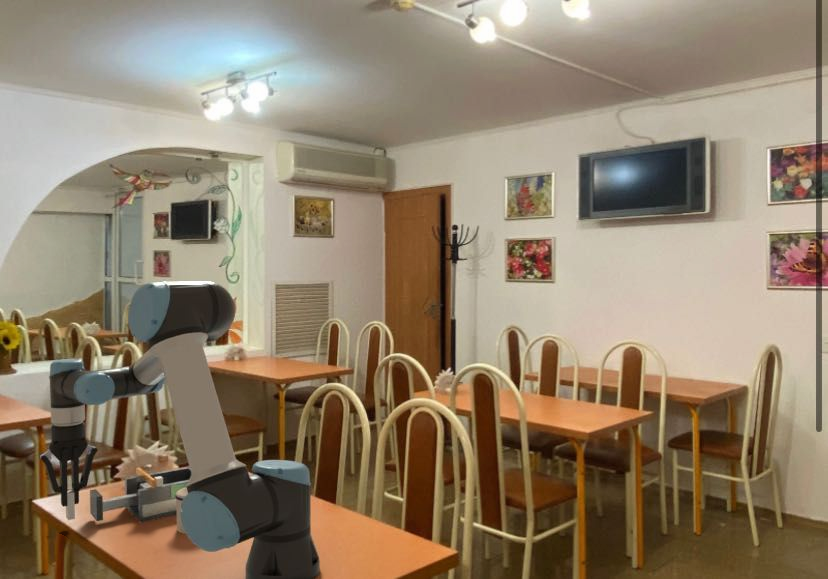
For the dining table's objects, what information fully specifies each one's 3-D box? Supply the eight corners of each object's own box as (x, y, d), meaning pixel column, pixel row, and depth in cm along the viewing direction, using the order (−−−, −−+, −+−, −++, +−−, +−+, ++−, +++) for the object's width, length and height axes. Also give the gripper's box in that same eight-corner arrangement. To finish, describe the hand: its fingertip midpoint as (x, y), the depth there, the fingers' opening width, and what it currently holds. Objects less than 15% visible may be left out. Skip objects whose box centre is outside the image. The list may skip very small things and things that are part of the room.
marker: (163, 485, 176) (163, 477, 176) (156, 486, 175) (156, 479, 175) (160, 483, 177) (160, 476, 177) (154, 485, 176) (154, 477, 176)
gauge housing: (210, 507, 183) (210, 477, 183) (140, 522, 172) (140, 491, 172) (192, 494, 195) (191, 466, 195) (125, 507, 184) (124, 478, 184)
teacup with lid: (189, 538, 162) (189, 489, 162) (168, 529, 168) (167, 482, 168) (232, 523, 172) (231, 477, 171) (210, 515, 177) (209, 470, 177)
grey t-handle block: (168, 510, 177) (168, 477, 177) (100, 525, 167) (99, 490, 167) (152, 496, 188) (151, 465, 188) (87, 509, 178) (86, 476, 178)
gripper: (93, 416, 176) (95, 508, 176) (35, 423, 168) (38, 519, 168) (100, 421, 170) (102, 516, 170) (41, 429, 162) (43, 528, 162)
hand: (70, 517), depth 169 cm, fingers closed
